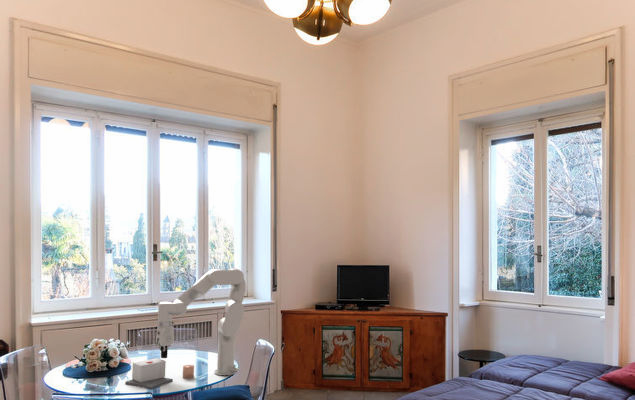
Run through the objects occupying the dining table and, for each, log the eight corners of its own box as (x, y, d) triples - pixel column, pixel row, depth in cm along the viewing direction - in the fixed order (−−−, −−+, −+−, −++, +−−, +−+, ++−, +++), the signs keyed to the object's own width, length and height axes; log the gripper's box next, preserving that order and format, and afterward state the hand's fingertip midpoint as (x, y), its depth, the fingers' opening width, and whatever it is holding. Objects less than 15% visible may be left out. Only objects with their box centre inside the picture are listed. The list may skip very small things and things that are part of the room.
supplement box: (166, 360, 286) (141, 365, 275) (165, 377, 286) (140, 382, 274) (157, 357, 292) (132, 362, 281) (156, 373, 292) (131, 379, 281)
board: (172, 381, 282) (172, 379, 282) (151, 389, 268) (151, 386, 268) (147, 376, 290) (147, 374, 290) (125, 384, 276) (125, 381, 276)
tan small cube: (196, 376, 292) (196, 365, 293) (189, 379, 287) (189, 368, 287) (187, 375, 295) (187, 364, 295) (180, 377, 290) (180, 366, 290)
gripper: (160, 327, 282) (159, 361, 281) (179, 322, 295) (178, 355, 294) (150, 326, 285) (149, 360, 284) (168, 321, 299) (167, 354, 298)
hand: (164, 357), depth 289 cm, fingers closed
